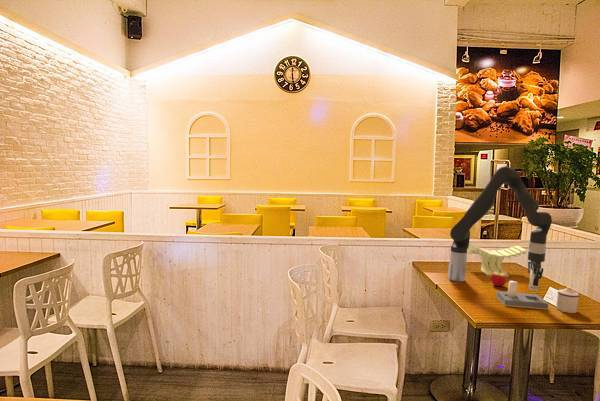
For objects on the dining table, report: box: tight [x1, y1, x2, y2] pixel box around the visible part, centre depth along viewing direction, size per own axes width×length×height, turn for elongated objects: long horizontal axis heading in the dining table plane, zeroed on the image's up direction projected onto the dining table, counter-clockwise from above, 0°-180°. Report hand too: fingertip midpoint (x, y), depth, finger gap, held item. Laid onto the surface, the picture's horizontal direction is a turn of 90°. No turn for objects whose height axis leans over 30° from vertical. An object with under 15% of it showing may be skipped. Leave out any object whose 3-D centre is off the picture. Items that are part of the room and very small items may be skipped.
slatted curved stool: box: [467, 242, 527, 278], centre depth 270 cm, size 30×16×18 cm, turn 85°
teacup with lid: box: [555, 286, 580, 314], centre depth 207 cm, size 12×9×12 cm
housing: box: [495, 290, 549, 310], centre depth 214 cm, size 20×14×3 cm
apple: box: [490, 269, 508, 287], centre depth 241 cm, size 8×8×10 cm
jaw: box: [506, 280, 519, 298], centre depth 214 cm, size 5×5×10 cm
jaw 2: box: [527, 270, 540, 292], centre depth 212 cm, size 5×5×10 cm
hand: (533, 284), depth 212 cm, fingers closed on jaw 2, 4 cm apart
